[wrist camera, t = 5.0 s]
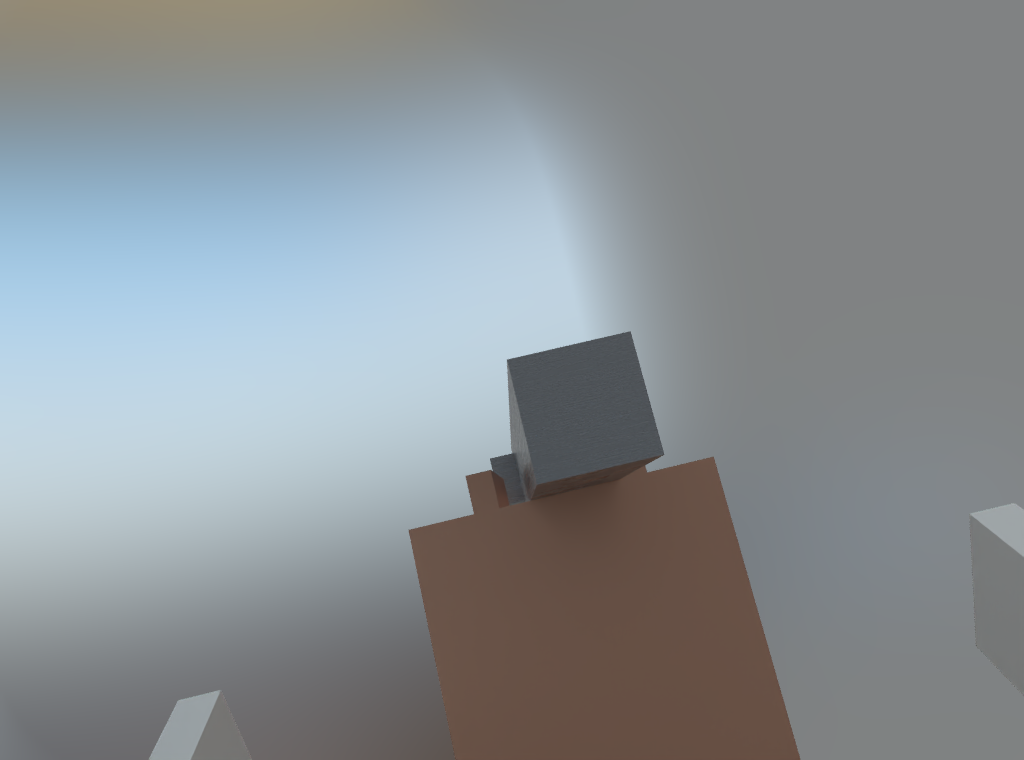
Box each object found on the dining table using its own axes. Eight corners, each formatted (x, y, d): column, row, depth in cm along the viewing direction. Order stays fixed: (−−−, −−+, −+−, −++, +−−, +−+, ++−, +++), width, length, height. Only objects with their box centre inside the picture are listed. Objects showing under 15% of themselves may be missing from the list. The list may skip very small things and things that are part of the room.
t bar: (490, 495, 21) (462, 370, 21) (503, 516, 42) (489, 454, 43) (709, 444, 21) (674, 321, 21) (610, 491, 43) (594, 429, 43)
